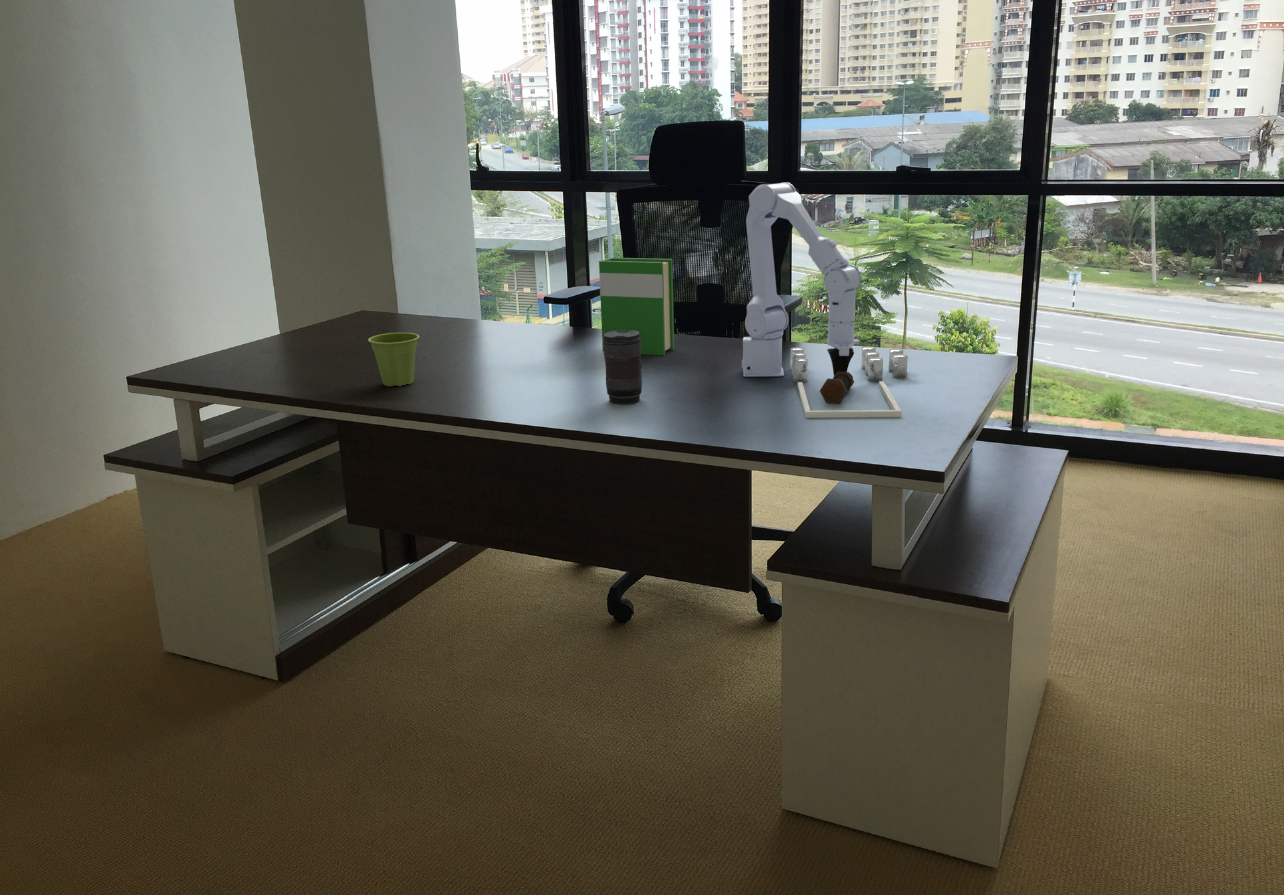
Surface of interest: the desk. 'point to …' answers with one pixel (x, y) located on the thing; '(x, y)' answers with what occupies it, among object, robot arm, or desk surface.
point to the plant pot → (395, 357)
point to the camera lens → (623, 366)
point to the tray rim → (852, 413)
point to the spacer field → (869, 364)
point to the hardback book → (638, 300)
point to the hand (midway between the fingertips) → (839, 380)
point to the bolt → (837, 387)
